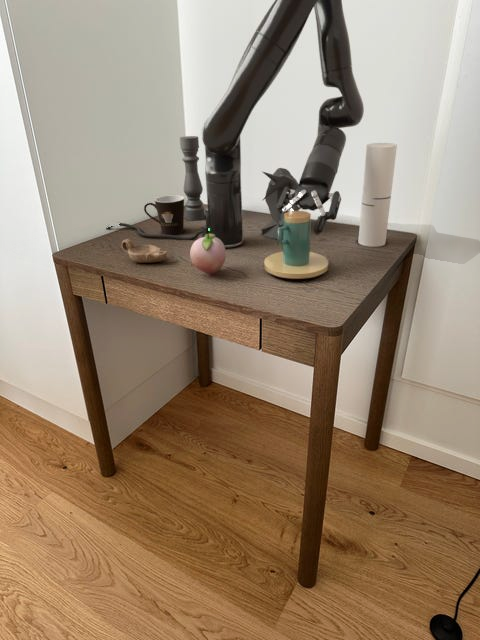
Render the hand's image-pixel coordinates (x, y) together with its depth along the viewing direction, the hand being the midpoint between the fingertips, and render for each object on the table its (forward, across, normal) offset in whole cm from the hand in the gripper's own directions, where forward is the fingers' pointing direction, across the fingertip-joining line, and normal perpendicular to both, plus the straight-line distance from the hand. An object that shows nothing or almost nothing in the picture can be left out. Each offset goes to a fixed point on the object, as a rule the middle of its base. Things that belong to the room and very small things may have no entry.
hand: (298, 231), depth 105 cm
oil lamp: (+15, -38, -2) cm, 41 cm away
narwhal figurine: (-12, -18, +26) cm, 33 cm away
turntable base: (+7, 0, +6) cm, 9 cm away
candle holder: (-12, -49, +25) cm, 56 cm away
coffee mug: (-1, -48, +14) cm, 50 cm away
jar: (+7, 0, +5) cm, 8 cm away
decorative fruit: (+15, -17, -2) cm, 23 cm away
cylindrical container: (-12, +10, +26) cm, 30 cm away
